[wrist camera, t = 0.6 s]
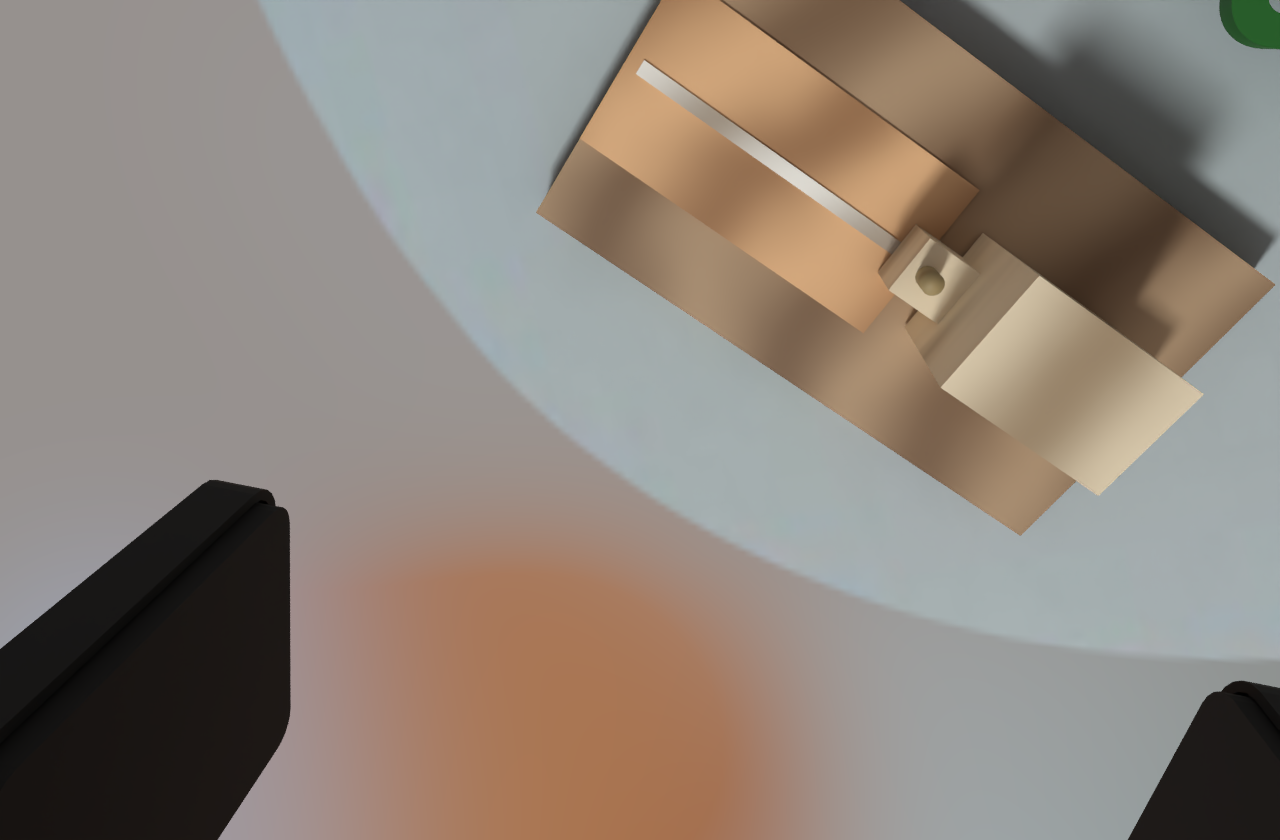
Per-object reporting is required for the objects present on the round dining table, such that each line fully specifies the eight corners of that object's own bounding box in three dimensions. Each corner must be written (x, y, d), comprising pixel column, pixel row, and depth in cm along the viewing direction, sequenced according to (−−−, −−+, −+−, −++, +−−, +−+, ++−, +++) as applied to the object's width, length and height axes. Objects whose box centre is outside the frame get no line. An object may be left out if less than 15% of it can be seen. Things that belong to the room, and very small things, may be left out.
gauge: (1162, 362, 30) (1255, 431, 25) (1078, 447, 32) (1148, 530, 26) (935, 198, 29) (982, 234, 23) (859, 295, 30) (885, 349, 25)
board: (1251, 273, 30) (1277, 285, 29) (1009, 516, 35) (1021, 537, 33) (735, -116, 27) (735, -125, 26) (544, 205, 32) (535, 213, 30)
